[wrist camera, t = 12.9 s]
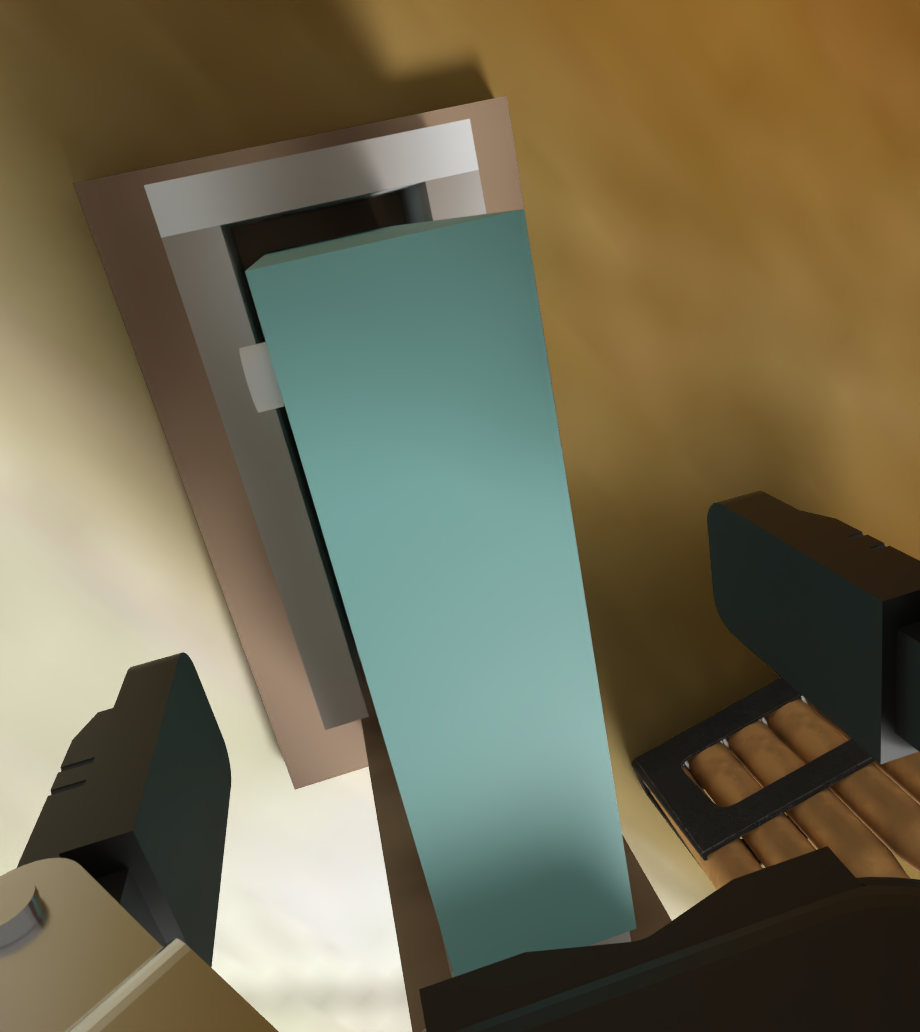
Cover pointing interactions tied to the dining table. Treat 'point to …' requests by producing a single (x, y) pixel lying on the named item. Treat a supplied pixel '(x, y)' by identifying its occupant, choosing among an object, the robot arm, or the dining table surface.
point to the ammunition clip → (782, 790)
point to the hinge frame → (268, 435)
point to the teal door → (455, 564)
